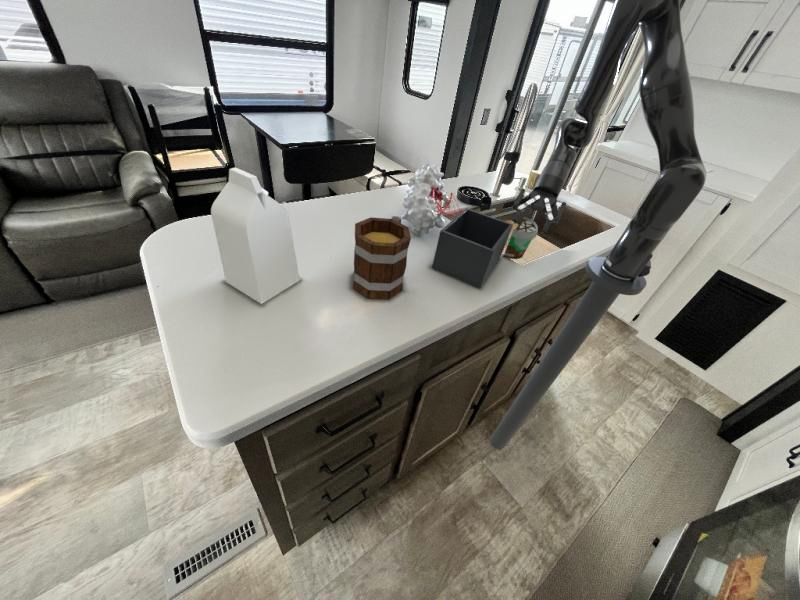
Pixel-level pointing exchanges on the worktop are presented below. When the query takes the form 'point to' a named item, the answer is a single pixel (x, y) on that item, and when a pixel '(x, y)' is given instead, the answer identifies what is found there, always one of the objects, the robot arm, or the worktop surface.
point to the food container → (521, 239)
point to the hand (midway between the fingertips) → (528, 227)
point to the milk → (253, 238)
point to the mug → (380, 257)
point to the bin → (471, 246)
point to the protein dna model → (426, 200)
